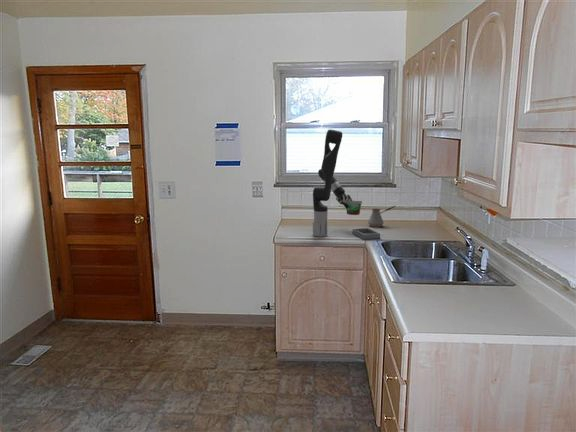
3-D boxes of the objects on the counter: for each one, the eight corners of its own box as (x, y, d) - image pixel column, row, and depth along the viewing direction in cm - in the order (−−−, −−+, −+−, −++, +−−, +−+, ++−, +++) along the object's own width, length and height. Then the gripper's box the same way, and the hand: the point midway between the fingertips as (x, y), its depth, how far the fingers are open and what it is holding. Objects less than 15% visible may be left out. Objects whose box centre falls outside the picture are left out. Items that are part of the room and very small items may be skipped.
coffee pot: (370, 228, 318) (371, 208, 316) (365, 225, 330) (366, 205, 327) (398, 227, 322) (399, 207, 319) (392, 223, 333) (393, 204, 330)
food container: (342, 214, 310) (342, 200, 308) (345, 212, 316) (345, 199, 314) (358, 215, 304) (359, 201, 303) (361, 214, 310) (362, 200, 308)
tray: (363, 239, 283) (363, 234, 283) (352, 233, 300) (352, 229, 300) (380, 238, 287) (380, 233, 286) (367, 232, 304) (368, 227, 303)
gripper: (334, 186, 309) (347, 205, 303) (346, 185, 319) (359, 203, 313) (328, 193, 313) (341, 211, 307) (340, 191, 324) (353, 209, 318)
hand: (350, 207), depth 310 cm, fingers closed on food container, 5 cm apart
